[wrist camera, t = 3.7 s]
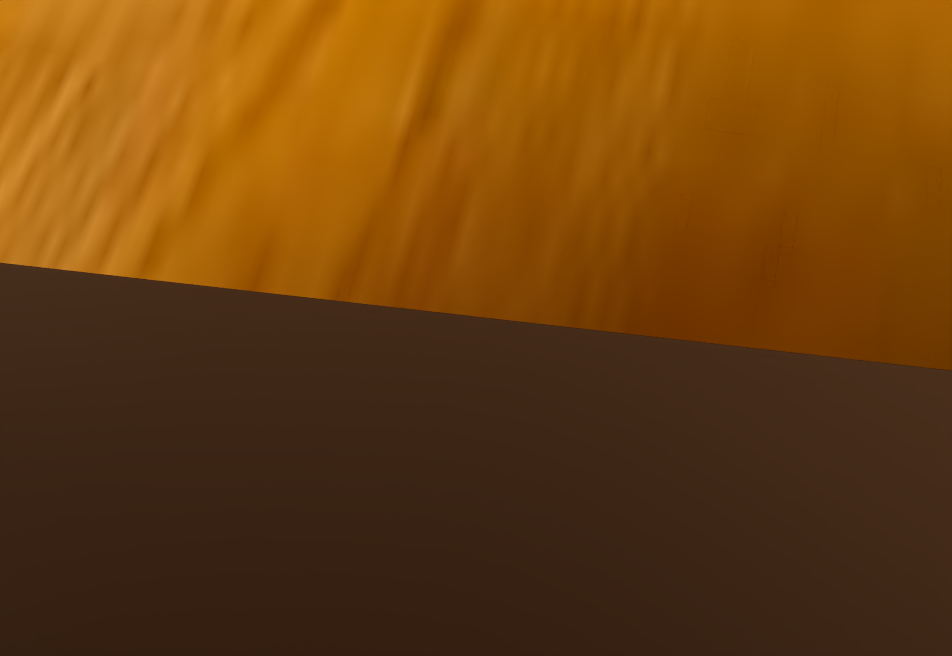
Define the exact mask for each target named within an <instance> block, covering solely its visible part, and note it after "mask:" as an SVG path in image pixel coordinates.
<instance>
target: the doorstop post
mask: <svg viewBox="0 0 952 656" xmlns="http://www.w3.org/2000/svg"><path fill="white" fill-rule="evenodd" d="M0 656H952V371H951V370H942V369H933V368H924V367H915V366H907V365H898V364H889V363H880V362H871V361H862V360H854V359H845V358H836V357H827V356H818V355H809V354H801V353H792V352H783V351H774V350H765V349H756V348H748V347H739V346H730V345H721V344H712V343H703V342H695V341H686V340H677V339H668V338H659V337H651V336H642V335H633V334H624V333H615V332H606V331H598V330H589V329H580V328H571V327H562V326H553V325H545V324H536V323H527V322H518V321H509V320H500V319H492V318H483V317H474V316H465V315H456V314H447V313H439V312H430V311H421V310H412V309H403V308H395V307H386V306H377V305H368V304H359V303H350V302H342V301H333V300H324V299H315V298H306V297H297V296H289V295H280V294H271V293H262V292H253V291H244V290H236V289H227V288H218V287H209V286H200V285H191V284H183V283H174V282H165V281H156V280H147V279H138V278H130V277H121V276H112V275H103V274H94V273H86V272H77V271H68V270H59V269H50V268H41V267H33V266H24V265H15V264H6V263H0Z"/></svg>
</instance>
